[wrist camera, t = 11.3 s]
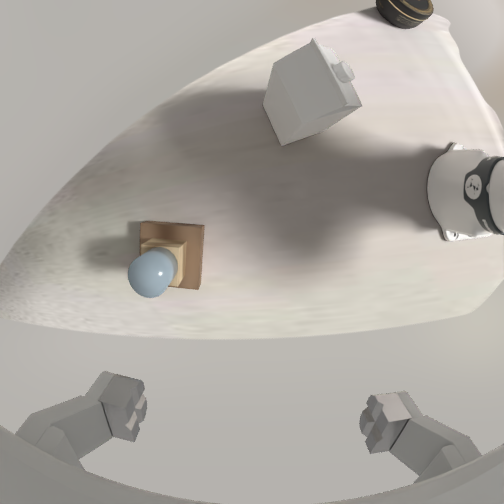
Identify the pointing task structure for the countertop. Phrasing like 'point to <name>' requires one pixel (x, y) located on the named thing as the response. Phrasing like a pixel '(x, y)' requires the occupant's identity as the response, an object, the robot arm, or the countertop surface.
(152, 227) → the walnut pedestal
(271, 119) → the milk carton
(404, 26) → the jar
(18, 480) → the robot arm
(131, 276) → the ceramic cylinder
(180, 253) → the oak cube
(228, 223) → the countertop surface
